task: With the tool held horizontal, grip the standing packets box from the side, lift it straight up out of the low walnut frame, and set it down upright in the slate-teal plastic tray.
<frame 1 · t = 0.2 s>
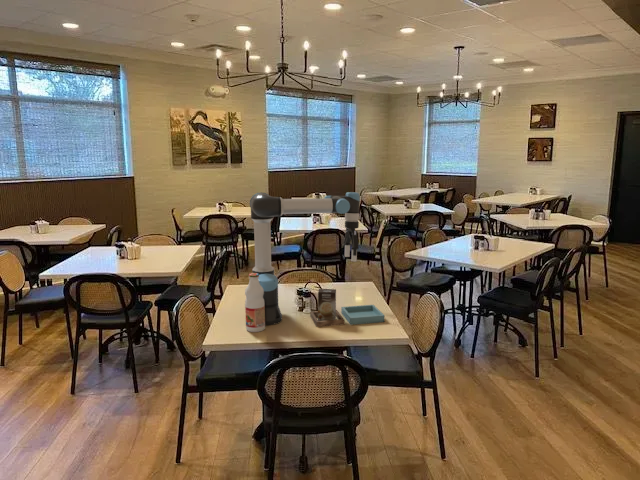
hand: (350, 259, 275), 27 cm above the table, tool pointing down, fingers open, 13 cm apart
coffee box: (327, 320, 257), resting in walnut frame
teal tray: (362, 317, 261), on the table
fruit juice: (255, 329, 246), on the table
walnut frame: (327, 320, 257), on the table
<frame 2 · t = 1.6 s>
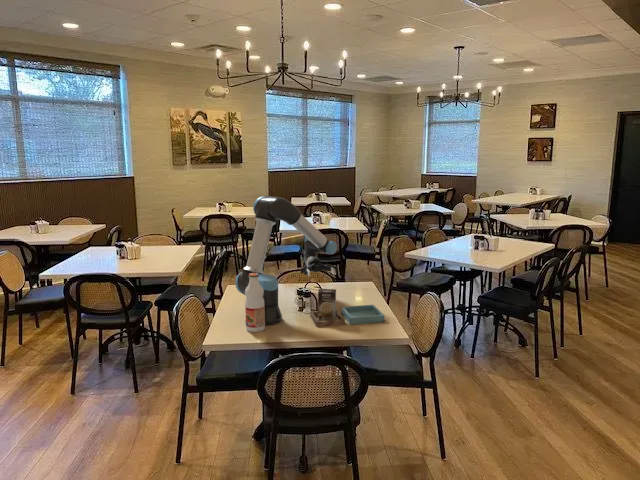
hand: (322, 273, 264), 22 cm above the table, tool horizontal, fingers open, 13 cm apart
nothing on the table moved.
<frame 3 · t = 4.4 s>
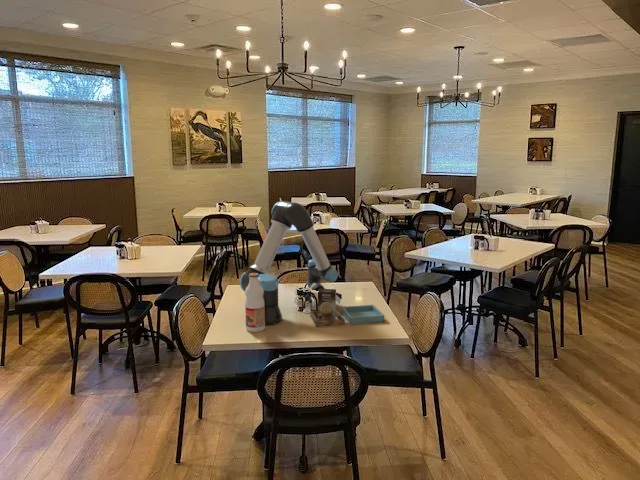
hand: (326, 302, 260), 8 cm above the table, tool horizontal, fingers open, 13 cm apart
nothing on the table moved.
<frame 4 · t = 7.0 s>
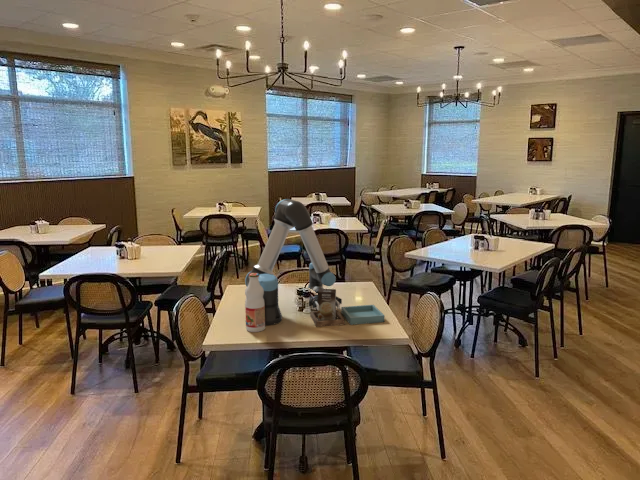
hand: (328, 307, 252), 9 cm above the table, tool horizontal, fingers closed on coffee box, 10 cm apart
coffee box: (326, 320, 257), resting in walnut frame, touching gripper
everything else where it was.
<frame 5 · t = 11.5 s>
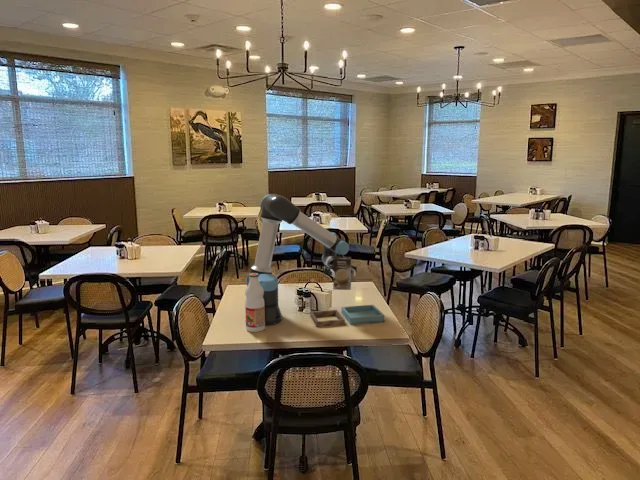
hand: (344, 274, 251), 25 cm above the table, tool horizontal, fingers closed on coffee box, 10 cm apart
coffee box: (342, 288, 256), point 16 cm above the table, touching gripper
everything else where it was.
when the fingers open (11 cm above the table, at t = 15.8 s): coffee box drops 1 cm, resting on teal tray.
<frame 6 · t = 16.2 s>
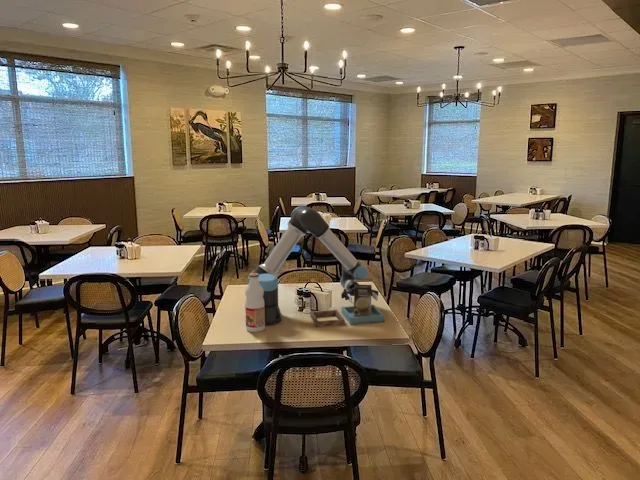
hand: (364, 299, 256), 11 cm above the table, tool horizontal, fingers open, 13 cm apart
coffee box: (362, 315, 261), point 1 cm above the table, touching teal tray
everything else where it was.
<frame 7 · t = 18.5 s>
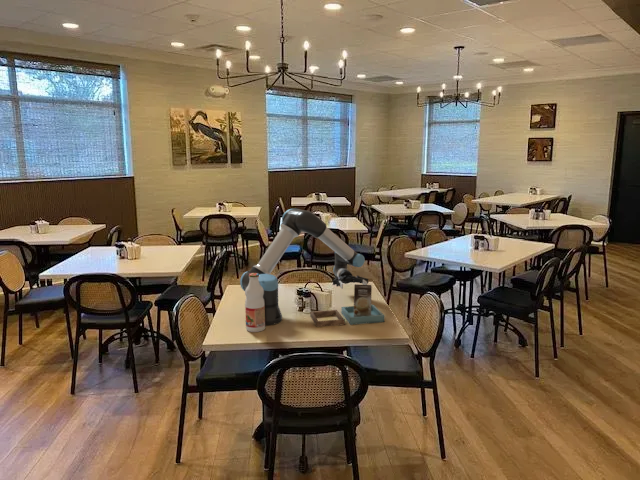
hand: (354, 285, 269), 14 cm above the table, tool horizontal, fingers open, 13 cm apart
nothing on the table moved.
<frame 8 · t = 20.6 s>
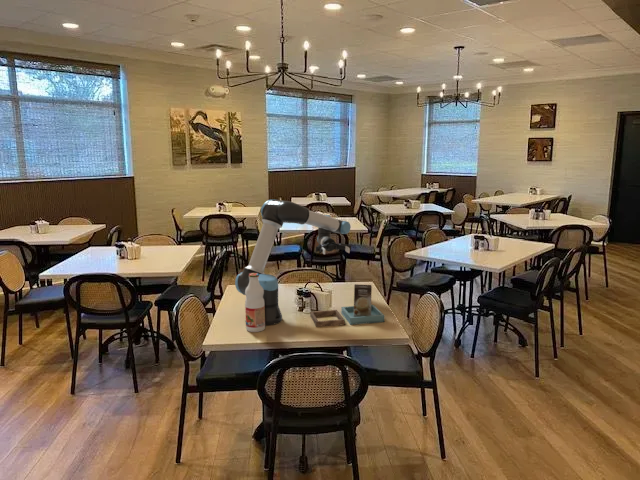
hand: (337, 251, 271), 32 cm above the table, tool horizontal, fingers open, 13 cm apart
nothing on the table moved.
at the end: coffee box inside the target area on the teal tray (0.0 cm from its centre), point 0.8 cm above the teal tray's base; coffee box tilted 0°; the gripper is holding nothing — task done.
